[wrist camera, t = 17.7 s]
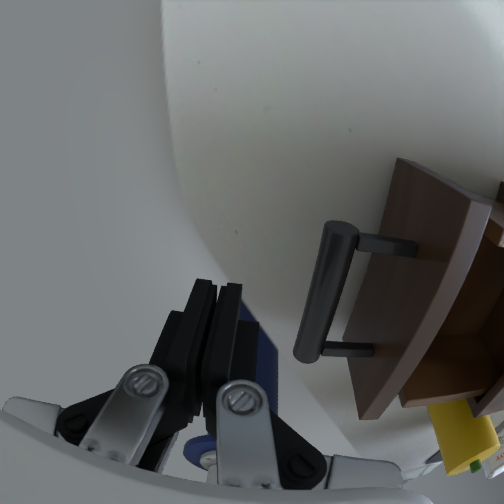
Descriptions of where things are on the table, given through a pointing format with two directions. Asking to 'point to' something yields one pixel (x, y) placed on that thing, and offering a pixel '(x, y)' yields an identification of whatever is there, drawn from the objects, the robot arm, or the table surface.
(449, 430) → the yellow tall cylinder
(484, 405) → the cabinet
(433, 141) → the table surface
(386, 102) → the table surface
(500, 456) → the ink box
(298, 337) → the drawer
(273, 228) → the table surface
